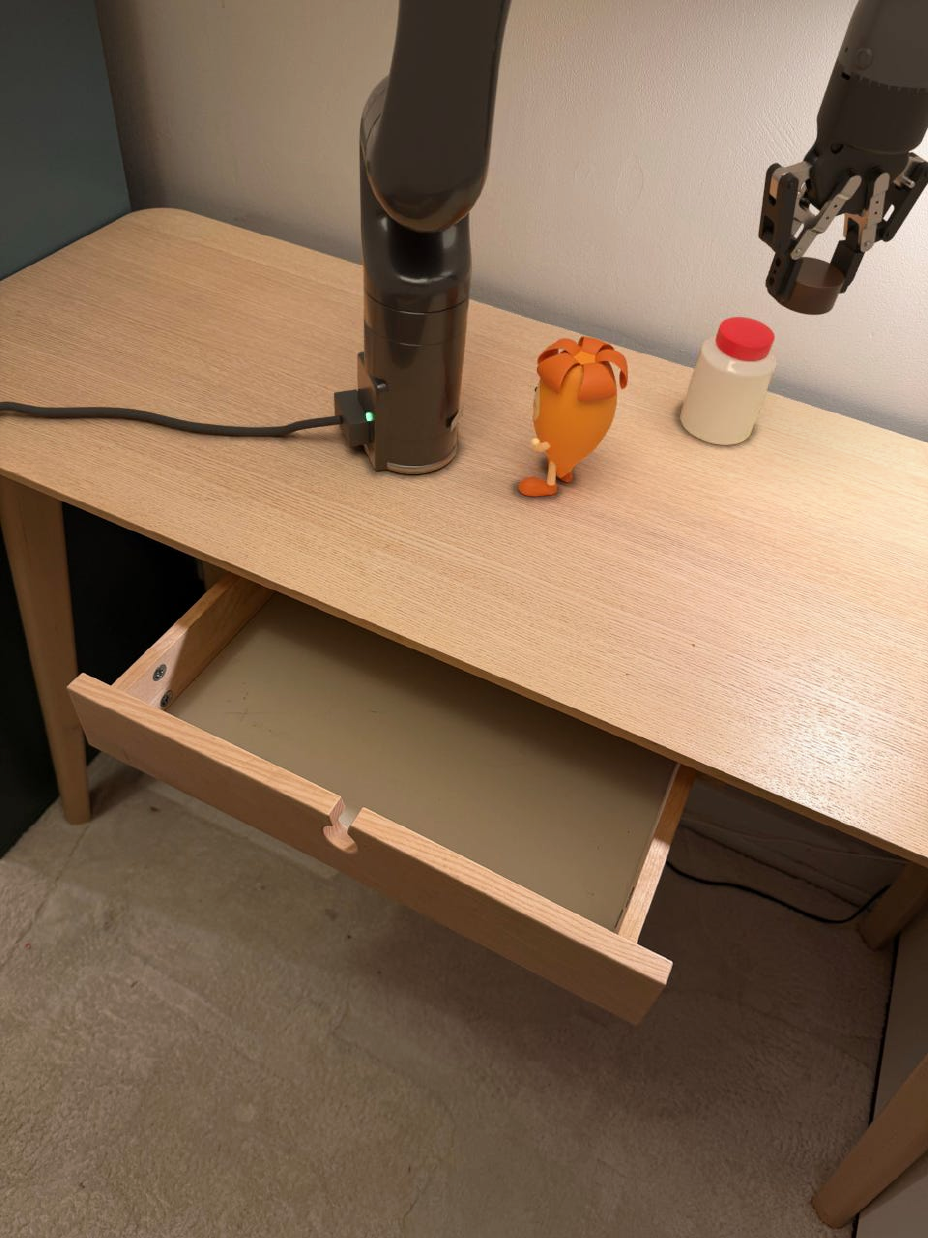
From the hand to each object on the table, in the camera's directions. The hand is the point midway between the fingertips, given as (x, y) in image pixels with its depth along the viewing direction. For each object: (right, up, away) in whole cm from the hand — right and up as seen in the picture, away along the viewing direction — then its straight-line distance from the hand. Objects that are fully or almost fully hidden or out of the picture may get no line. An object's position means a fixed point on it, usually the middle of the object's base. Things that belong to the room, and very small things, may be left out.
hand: (805, 291), depth 75 cm
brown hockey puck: (0, 0, 0) cm, 1 cm away
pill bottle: (-1, -6, +23) cm, 24 cm away
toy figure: (-19, -14, +14) cm, 28 cm away
